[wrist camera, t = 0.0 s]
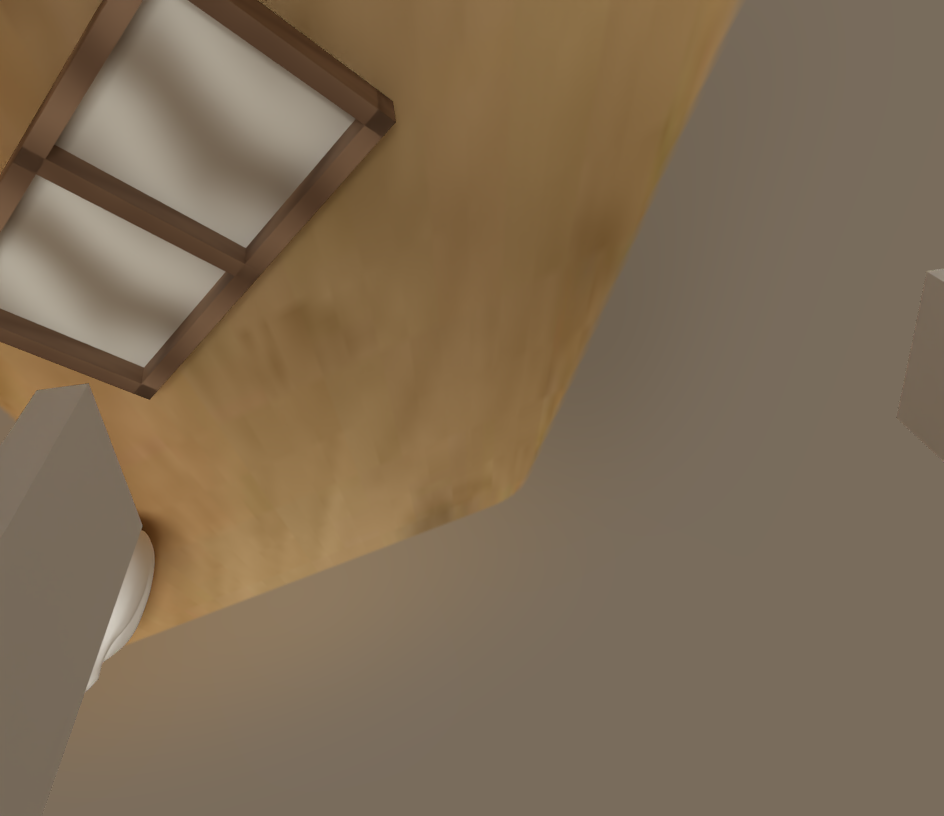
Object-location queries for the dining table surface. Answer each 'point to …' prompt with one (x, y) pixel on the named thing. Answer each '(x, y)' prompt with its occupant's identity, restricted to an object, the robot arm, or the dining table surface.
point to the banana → (128, 603)
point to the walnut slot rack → (169, 180)
